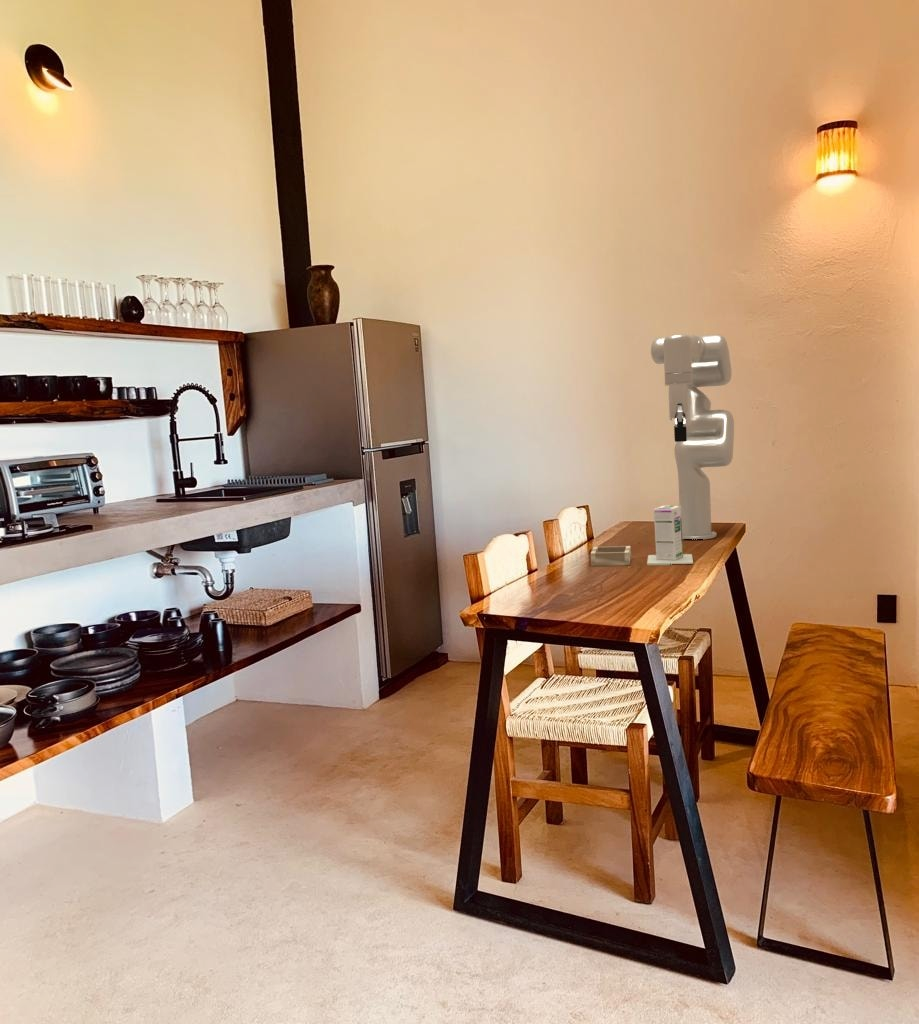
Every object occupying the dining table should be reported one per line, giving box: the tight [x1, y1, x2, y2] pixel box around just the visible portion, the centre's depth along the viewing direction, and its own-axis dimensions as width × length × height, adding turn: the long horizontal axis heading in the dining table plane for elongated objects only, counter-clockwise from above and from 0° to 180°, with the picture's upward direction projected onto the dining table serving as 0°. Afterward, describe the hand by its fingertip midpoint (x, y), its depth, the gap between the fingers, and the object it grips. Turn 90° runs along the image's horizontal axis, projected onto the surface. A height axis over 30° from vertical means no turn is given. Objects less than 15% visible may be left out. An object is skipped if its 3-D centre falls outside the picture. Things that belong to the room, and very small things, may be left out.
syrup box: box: [653, 504, 684, 561], centre depth 235 cm, size 6×6×14 cm
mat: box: [646, 553, 694, 566], centre depth 236 cm, size 12×12×1 cm
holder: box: [590, 545, 632, 567], centre depth 239 cm, size 10×10×4 cm
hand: (680, 440), depth 242 cm, fingers open, 9 cm apart
